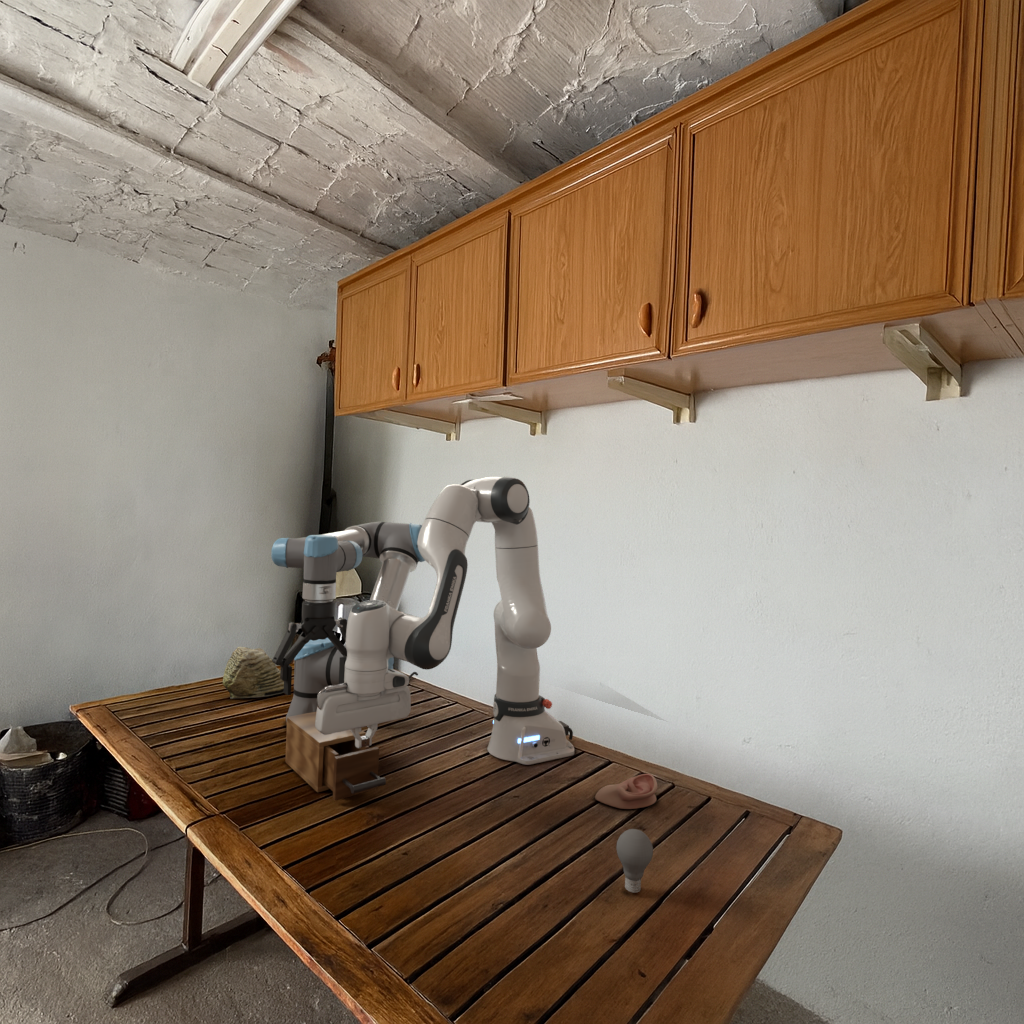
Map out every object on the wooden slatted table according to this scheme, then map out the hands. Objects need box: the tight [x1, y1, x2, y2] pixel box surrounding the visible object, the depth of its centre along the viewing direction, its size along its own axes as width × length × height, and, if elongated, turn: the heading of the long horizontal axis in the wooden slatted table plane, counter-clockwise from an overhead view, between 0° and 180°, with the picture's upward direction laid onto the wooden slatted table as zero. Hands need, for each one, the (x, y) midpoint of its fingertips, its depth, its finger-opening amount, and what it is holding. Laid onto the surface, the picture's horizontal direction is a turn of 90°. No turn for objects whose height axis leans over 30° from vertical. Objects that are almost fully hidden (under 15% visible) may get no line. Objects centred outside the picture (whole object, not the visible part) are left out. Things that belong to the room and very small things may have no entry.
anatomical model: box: [594, 773, 658, 810], centre depth 139 cm, size 13×4×12 cm
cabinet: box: [284, 712, 367, 793], centre depth 146 cm, size 19×11×11 cm, turn 40°
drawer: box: [322, 740, 387, 801], centre depth 138 cm, size 23×10×9 cm, turn 40°
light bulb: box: [615, 828, 654, 894], centre depth 106 cm, size 6×6×10 cm
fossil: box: [222, 646, 284, 699], centre depth 198 cm, size 9×18×15 cm, turn 132°
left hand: (315, 689), depth 151 cm, fingers open, 13 cm apart
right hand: (363, 746), depth 131 cm, fingers closed
